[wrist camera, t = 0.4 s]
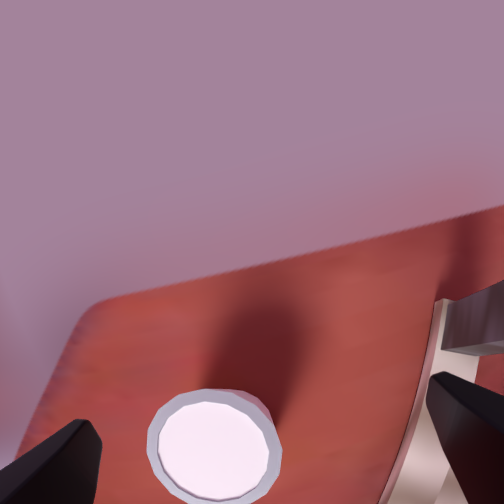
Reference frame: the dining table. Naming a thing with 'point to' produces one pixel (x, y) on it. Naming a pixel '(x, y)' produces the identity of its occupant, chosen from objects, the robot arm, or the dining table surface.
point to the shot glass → (215, 447)
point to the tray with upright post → (420, 424)
